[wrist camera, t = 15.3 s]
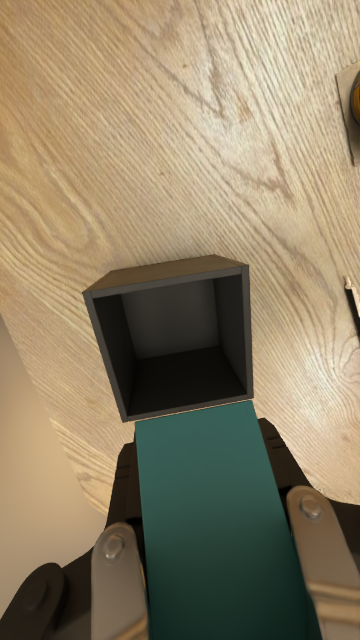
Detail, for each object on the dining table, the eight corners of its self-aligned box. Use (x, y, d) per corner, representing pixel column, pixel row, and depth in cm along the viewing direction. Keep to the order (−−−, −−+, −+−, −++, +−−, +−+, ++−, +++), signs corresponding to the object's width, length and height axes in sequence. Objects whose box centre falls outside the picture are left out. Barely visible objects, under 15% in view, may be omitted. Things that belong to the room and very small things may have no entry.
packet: (174, 529, 12) (154, 682, 5) (160, 421, 15) (133, 421, 7) (245, 514, 13) (323, 641, 5) (221, 409, 15) (252, 398, 8)
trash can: (133, 362, 30) (122, 423, 20) (110, 270, 26) (81, 292, 16) (222, 346, 31) (253, 398, 21) (214, 254, 26) (249, 264, 16)
